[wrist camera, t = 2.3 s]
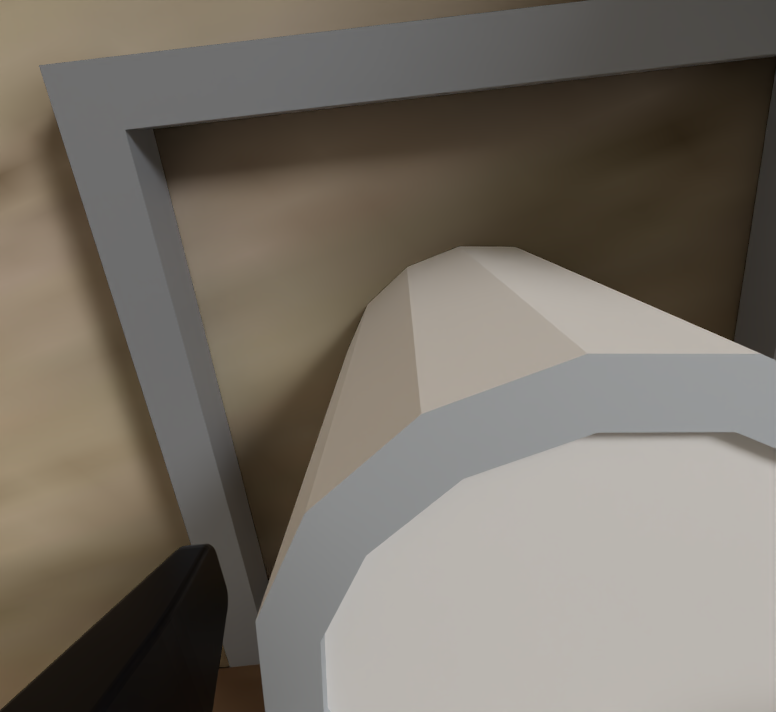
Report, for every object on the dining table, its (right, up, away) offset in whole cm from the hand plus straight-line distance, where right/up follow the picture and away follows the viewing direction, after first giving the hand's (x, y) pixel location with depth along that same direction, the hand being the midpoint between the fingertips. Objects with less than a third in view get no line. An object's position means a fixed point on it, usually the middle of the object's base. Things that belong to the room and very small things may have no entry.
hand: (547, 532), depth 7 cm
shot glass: (0, +2, +5) cm, 5 cm away
